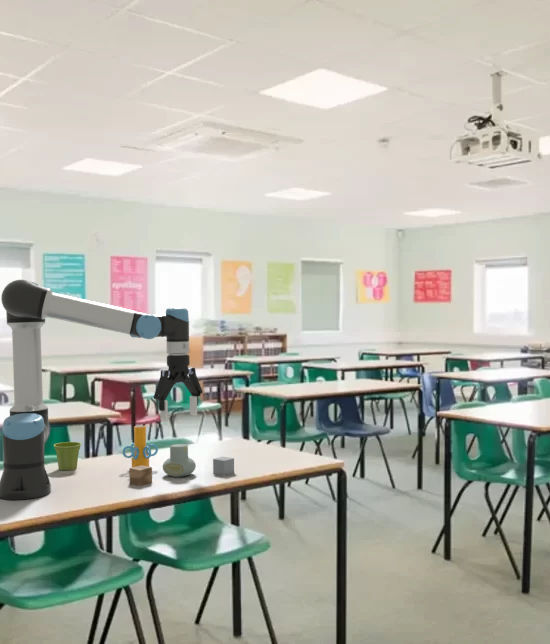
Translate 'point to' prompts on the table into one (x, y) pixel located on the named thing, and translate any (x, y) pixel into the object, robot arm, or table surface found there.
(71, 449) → the plant pot
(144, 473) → the walnut block
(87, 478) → the table surface
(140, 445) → the cylinder
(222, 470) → the grey block
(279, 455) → the table surface
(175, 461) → the air freshener
